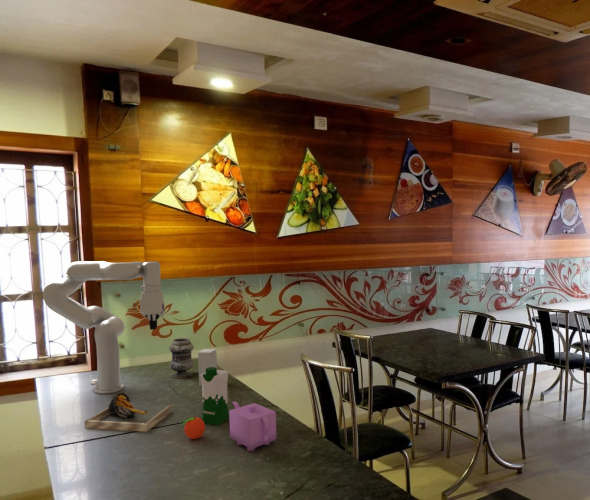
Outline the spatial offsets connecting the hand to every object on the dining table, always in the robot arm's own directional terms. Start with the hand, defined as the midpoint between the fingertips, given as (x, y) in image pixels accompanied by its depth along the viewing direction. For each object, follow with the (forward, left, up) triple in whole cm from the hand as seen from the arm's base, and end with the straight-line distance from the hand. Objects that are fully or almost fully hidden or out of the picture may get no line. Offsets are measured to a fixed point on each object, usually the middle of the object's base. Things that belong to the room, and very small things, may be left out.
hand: (153, 328), depth 217 cm
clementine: (+40, -50, -27) cm, 69 cm away
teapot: (+60, -50, -27) cm, 83 cm away
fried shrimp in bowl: (+7, -35, -27) cm, 45 cm away
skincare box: (+22, +9, -27) cm, 36 cm away
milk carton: (+42, -34, -27) cm, 60 cm away
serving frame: (+9, -37, -27) cm, 47 cm away
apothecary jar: (+4, +20, -27) cm, 34 cm away
